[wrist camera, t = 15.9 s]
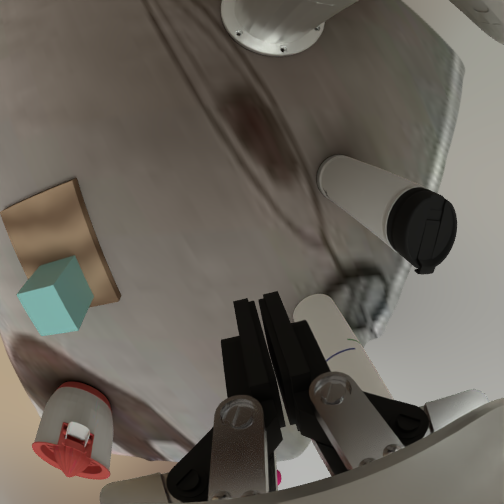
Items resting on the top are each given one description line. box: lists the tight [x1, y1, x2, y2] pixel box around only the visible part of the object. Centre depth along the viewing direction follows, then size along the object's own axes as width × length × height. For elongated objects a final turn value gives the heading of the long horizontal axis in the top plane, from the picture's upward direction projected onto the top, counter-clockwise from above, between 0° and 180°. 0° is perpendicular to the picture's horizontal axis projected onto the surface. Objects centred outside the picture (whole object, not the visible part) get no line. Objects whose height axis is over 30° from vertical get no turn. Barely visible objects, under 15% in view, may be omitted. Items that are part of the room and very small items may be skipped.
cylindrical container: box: [293, 294, 394, 400], centre depth 36 cm, size 7×7×25 cm
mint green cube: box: [17, 255, 94, 336], centre depth 33 cm, size 7×7×8 cm
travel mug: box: [317, 155, 457, 274], centre depth 28 cm, size 6×7×20 cm
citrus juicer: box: [32, 381, 113, 479], centre depth 40 cm, size 16×17×20 cm
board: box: [0, 178, 121, 307], centre depth 35 cm, size 18×14×2 cm
